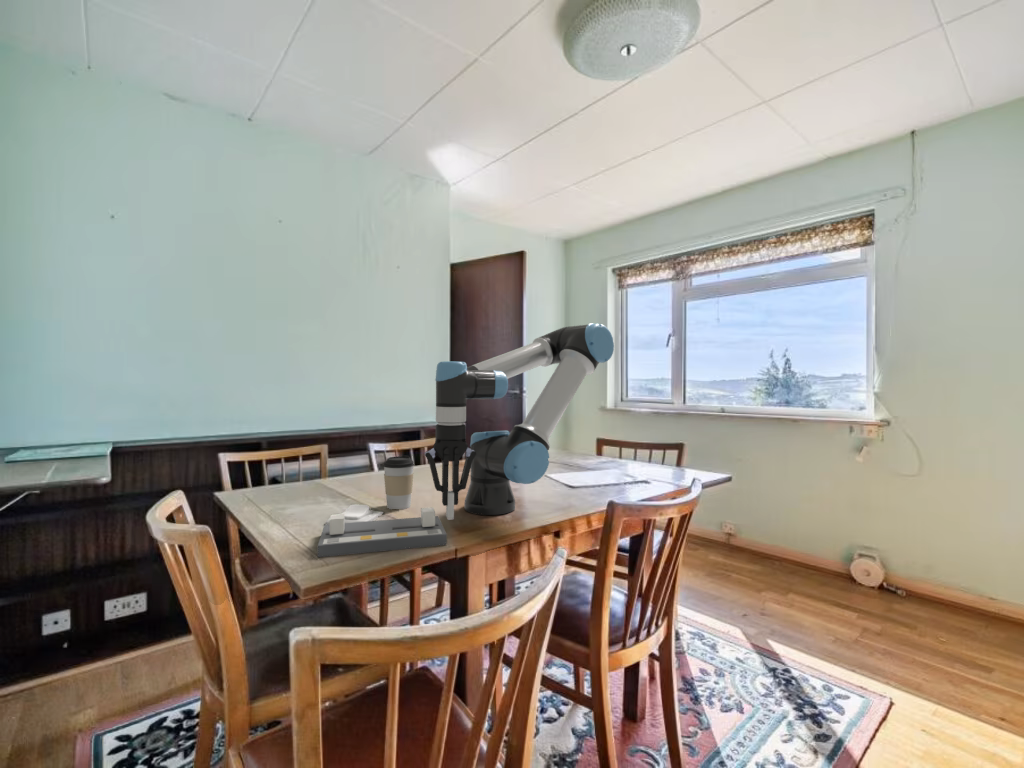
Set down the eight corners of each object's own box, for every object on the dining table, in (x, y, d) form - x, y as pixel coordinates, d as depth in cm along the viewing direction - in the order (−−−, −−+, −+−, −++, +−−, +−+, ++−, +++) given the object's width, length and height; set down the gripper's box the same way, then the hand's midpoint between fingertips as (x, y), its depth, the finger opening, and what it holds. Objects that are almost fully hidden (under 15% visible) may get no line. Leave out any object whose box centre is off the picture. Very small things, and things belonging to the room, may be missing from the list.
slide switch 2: (433, 521, 119) (433, 507, 119) (435, 526, 115) (435, 511, 115) (420, 522, 118) (421, 508, 118) (422, 527, 114) (422, 512, 114)
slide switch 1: (344, 528, 113) (344, 513, 113) (343, 533, 109) (343, 518, 109) (331, 529, 112) (331, 514, 112) (329, 534, 108) (329, 519, 108)
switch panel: (438, 525, 125) (438, 515, 125) (446, 544, 110) (446, 533, 110) (324, 534, 117) (324, 523, 117) (317, 557, 102) (317, 544, 102)
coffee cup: (398, 512, 136) (398, 460, 136) (376, 507, 141) (376, 457, 141) (420, 505, 144) (420, 456, 144) (398, 501, 149) (398, 453, 148)
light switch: (384, 502, 136) (364, 513, 123) (383, 517, 136) (364, 529, 123) (348, 501, 137) (325, 511, 125) (348, 515, 137) (324, 527, 125)
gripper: (473, 421, 123) (472, 512, 123) (422, 422, 119) (421, 515, 120) (479, 424, 116) (478, 520, 116) (426, 425, 112) (425, 524, 112)
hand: (449, 517), depth 118 cm, fingers closed
